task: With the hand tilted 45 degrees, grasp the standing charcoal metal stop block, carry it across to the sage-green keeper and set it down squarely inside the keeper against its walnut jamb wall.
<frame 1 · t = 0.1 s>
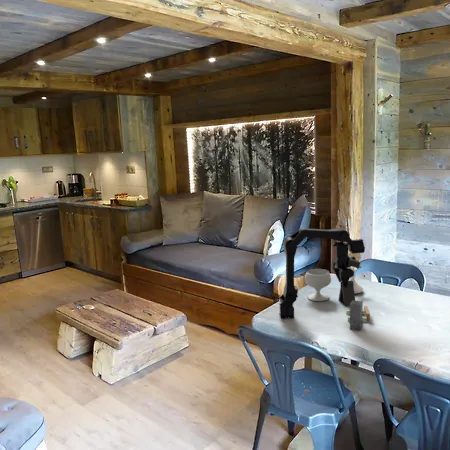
hand: (342, 284, 213), 15 cm above the table, tool pointing down, fingers open, 9 cm apart
phone stand: (347, 303, 228), on the table
flower in vase: (353, 292, 243), on the table
stop block: (356, 328, 198), on the table
keeper: (356, 317, 210), on the table
chalice: (318, 298, 238), on the table
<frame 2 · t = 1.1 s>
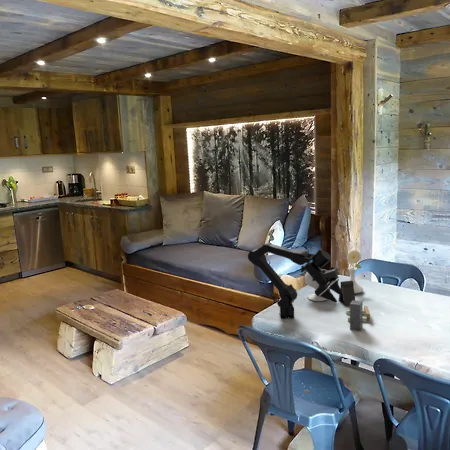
hand: (339, 298, 199), 13 cm above the table, tool tilted 45°, fingers open, 9 cm apart
nothing on the table moved.
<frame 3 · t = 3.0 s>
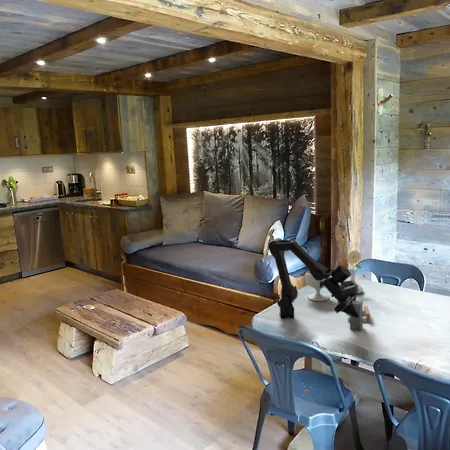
hand: (359, 315, 196), 7 cm above the table, tool tilted 45°, fingers closed on stop block, 4 cm apart
stop block: (356, 328, 198), on the table, touching gripper
everything else where it was.
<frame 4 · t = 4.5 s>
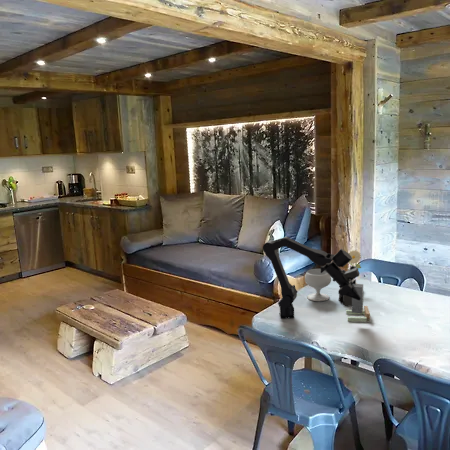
hand: (360, 297, 200), 13 cm above the table, tool tilted 45°, fingers closed on stop block, 4 cm apart
stop block: (357, 311, 201), point 6 cm above the table, touching gripper
everything else where it was.
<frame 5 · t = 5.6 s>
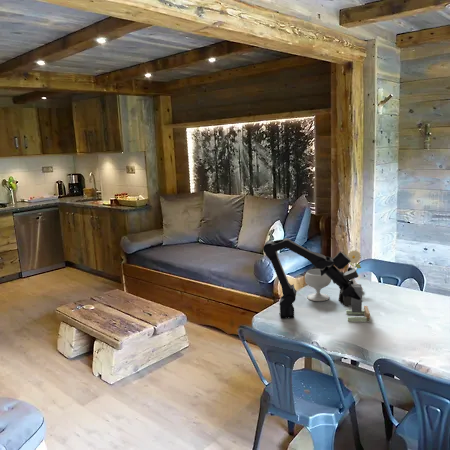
hand: (359, 297, 207), 10 cm above the table, tool tilted 45°, fingers closed on stop block, 4 cm apart
stop block: (356, 310, 209), point 4 cm above the table, touching gripper
everything else where it was.
when the fingers open (8 cm above the table, at t = 6.3 s): stop block drops 1 cm, on the table.
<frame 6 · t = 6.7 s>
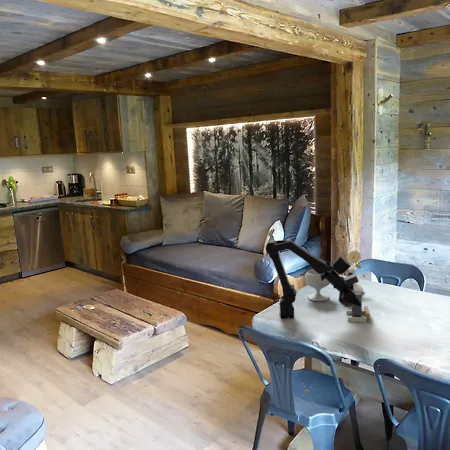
hand: (359, 302, 208), 8 cm above the table, tool tilted 45°, fingers open, 8 cm apart
stop block: (356, 317, 210), on the table
everything else where it was.
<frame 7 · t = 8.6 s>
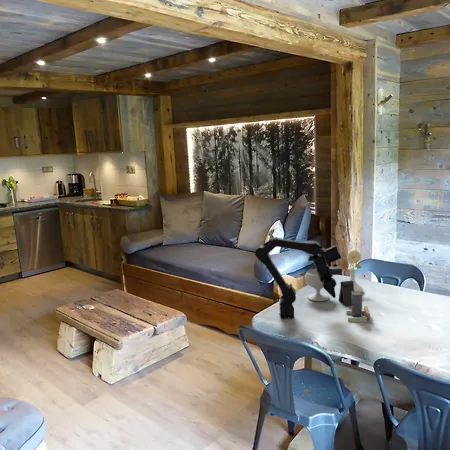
hand: (333, 294, 211), 11 cm above the table, tool tilted 20°, fingers open, 9 cm apart
nothing on the table moved.
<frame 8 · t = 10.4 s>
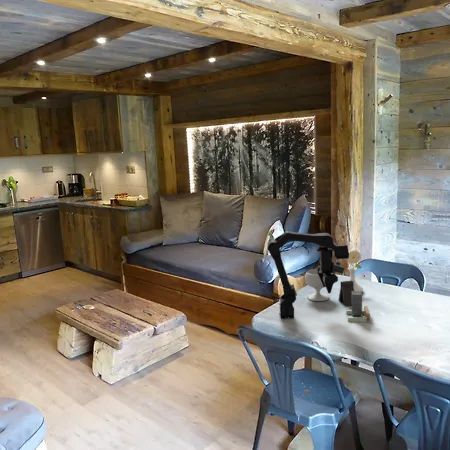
hand: (327, 290, 212), 13 cm above the table, tool pointing down, fingers open, 9 cm apart
nothing on the table moved.
at the end: stop block inside the target area on the keeper (0.2 cm from its centre), point 0.0 cm above the keeper's base; stop block tilted 0°; the gripper is holding nothing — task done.
